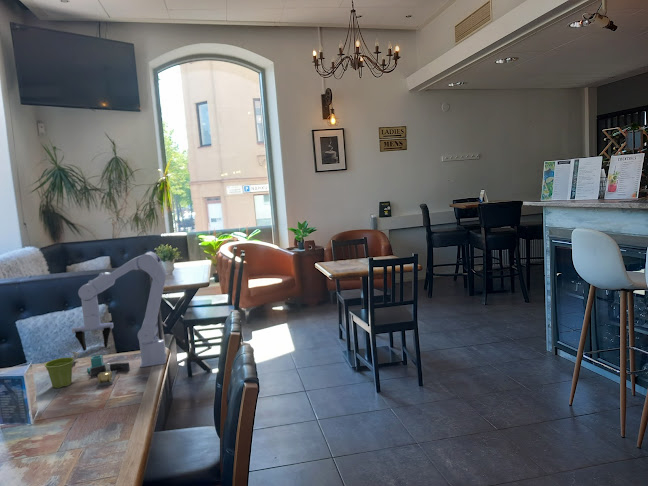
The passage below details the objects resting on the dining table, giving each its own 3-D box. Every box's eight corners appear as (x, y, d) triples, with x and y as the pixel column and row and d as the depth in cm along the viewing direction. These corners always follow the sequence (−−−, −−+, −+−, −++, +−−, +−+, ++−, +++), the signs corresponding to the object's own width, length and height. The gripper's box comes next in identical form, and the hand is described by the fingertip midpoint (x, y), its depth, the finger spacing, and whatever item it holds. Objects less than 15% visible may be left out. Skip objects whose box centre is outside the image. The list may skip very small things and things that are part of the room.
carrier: (130, 368, 190) (128, 356, 189) (125, 382, 176) (123, 368, 175) (91, 374, 186) (90, 361, 186) (83, 388, 172) (81, 374, 172)
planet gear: (110, 364, 196) (108, 352, 195) (107, 371, 189) (105, 358, 188) (89, 367, 194) (88, 355, 193) (85, 374, 187) (84, 361, 186)
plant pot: (82, 379, 181) (79, 356, 180) (66, 389, 172) (63, 366, 171) (58, 380, 182) (55, 357, 181) (41, 390, 173) (38, 367, 172)
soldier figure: (53, 373, 194) (63, 355, 204) (64, 379, 195) (74, 360, 206) (64, 360, 192) (74, 342, 203) (75, 366, 194) (84, 348, 204)
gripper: (113, 309, 195) (116, 342, 196) (73, 314, 191) (77, 348, 192) (110, 313, 188) (114, 348, 189) (68, 318, 184) (73, 353, 186)
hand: (95, 348), depth 190 cm, fingers open, 7 cm apart
